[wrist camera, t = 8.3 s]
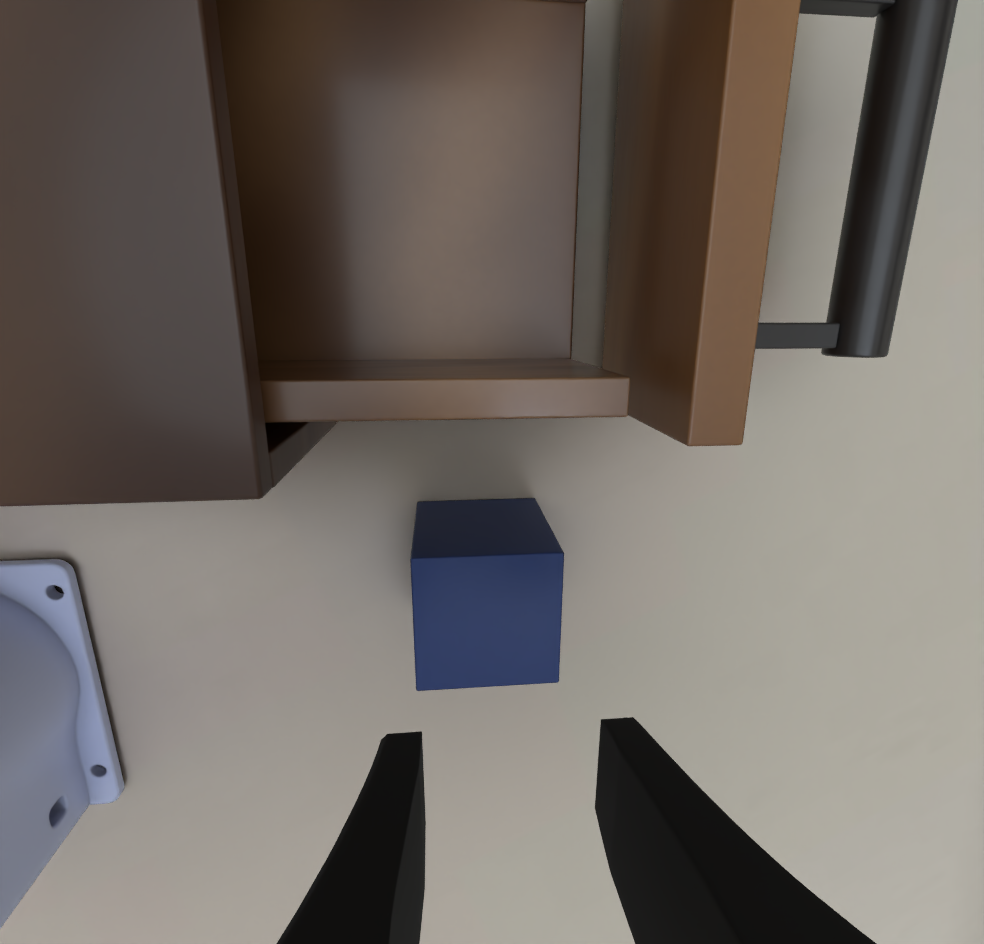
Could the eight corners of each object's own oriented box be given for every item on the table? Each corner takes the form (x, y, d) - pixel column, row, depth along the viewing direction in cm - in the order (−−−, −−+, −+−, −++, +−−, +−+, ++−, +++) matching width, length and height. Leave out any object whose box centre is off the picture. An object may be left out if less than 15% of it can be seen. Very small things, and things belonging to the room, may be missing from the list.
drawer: (848, -23, 14) (1136, -264, 8) (784, 398, 17) (964, 441, 11) (117, -68, 13) (-164, -406, 7) (191, 406, 16) (41, 461, 10)
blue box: (532, 602, 20) (559, 683, 15) (421, 607, 19) (416, 692, 15) (535, 497, 18) (564, 552, 14) (417, 501, 18) (410, 558, 14)
